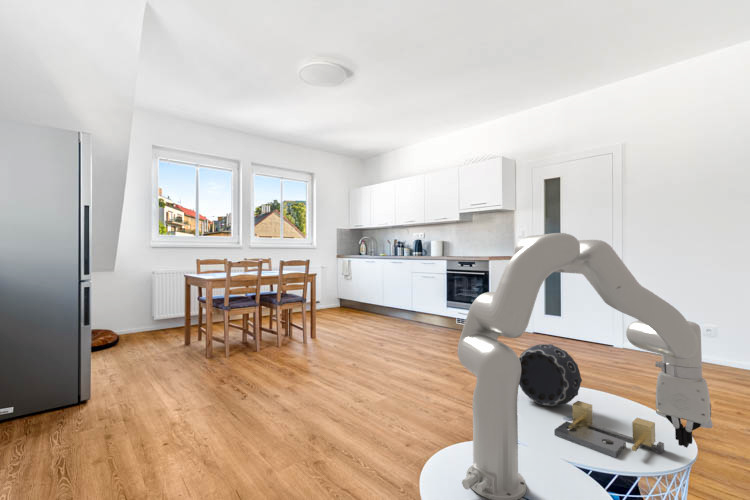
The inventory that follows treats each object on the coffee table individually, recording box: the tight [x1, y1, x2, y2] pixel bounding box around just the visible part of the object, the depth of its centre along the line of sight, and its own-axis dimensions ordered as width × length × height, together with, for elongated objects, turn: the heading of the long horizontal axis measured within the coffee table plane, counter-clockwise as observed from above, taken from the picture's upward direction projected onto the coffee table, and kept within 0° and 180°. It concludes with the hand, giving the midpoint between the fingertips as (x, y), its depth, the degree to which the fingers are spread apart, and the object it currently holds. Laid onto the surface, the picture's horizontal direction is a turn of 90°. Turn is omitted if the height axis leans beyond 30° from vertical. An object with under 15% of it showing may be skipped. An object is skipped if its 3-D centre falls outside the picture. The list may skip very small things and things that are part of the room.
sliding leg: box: [631, 417, 656, 453], centre depth 93 cm, size 11×4×5 cm, turn 130°
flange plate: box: [553, 421, 627, 459], centre depth 98 cm, size 8×15×2 cm, turn 40°
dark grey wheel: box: [518, 343, 583, 408], centre depth 122 cm, size 11×20×20 cm, turn 37°
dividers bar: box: [569, 400, 665, 455], centre depth 98 cm, size 11×21×6 cm, turn 40°
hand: (684, 444), depth 89 cm, fingers closed
